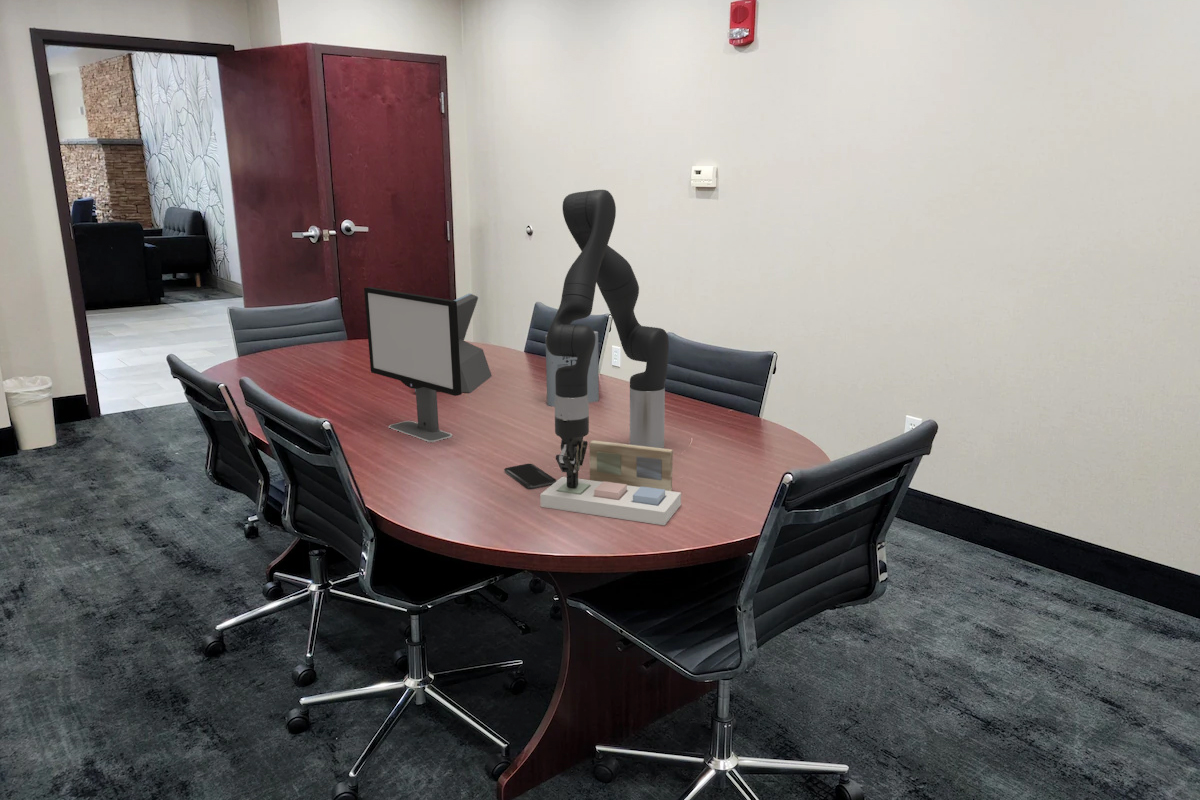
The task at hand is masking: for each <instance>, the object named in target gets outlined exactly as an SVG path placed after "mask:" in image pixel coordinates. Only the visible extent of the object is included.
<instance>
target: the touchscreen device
mask: <svg viewBox="0 0 1200 800" xmlns="http://www.w3.org/2000/svg"><path fill="white" fill-rule="evenodd" d="M478 299H479V297H478V296H477V295H475V294H473V293H468V294H465V295H464V296H461V297H458V298H456V299H454V301H456V302H457V318H458V337H459V356H460V375H461V393H467V394H469V393H470V394H471V393H473V392H474V391H475V390H476V389H478V388H479V387H480V386H481V385H482V384H484V383H485V382H486V381H488V380H489V379H490V378H492V376H493V375H492V372H491V369H490V366H489V364H488V361H487V358H486V354H485V352H484V349H483V348H481V347H479V346H476V345H474V344H472V343H470V342H467V341H465V339H466V335H467V332H468V328H469V326H470V323H471V320H472V317H473V315H474V312H475V310H476V306H477V303H478ZM414 391H415V393H416V389H414Z"/></svg>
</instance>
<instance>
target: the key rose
mask: <svg viewBox="0 0 1200 800" xmlns="http://www.w3.org/2000/svg"><path fill="white" fill-rule="evenodd" d="M626 492H627V484H620V483H613V482H605V481H603V482H602V483H601V484H600V485H599V486H598V487H597V488H596V489H595V490H594V497H600V498H607V499H614V500H620V499H621V498H622V497H623V496H624V495H625V494H626Z"/></svg>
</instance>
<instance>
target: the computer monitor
mask: <svg viewBox="0 0 1200 800" xmlns="http://www.w3.org/2000/svg"><path fill="white" fill-rule="evenodd" d="M363 292H364V293H363V294H364V303H365V304H364V305H365V306H364V307H365V317H366V328H367V330H366V331H367V339H368V352H369V353H368V354H369V355H368V356H369V363H370V364H369V365H370V373H372V374H375V375H378V376H383V377H386V378H390V379H393V380H395V381H399V382H401V383H402V384H403V385H405V386H406V387H407V388H410V389H413V390H415V389H416V392H415V397H416V398H415V399H416V401H415V402H416V412H417V413H416V414H417V422H416V421H413V420H406V421H400V422H397V423H393V424H389V426H388V429H389V428H391V429H394V430H397V431H399V432H402V433H405V434H408V435H411V436H414V437H417V438H419V439H418V440H420V439H422V440H424V441H423V442H425V441H427V442H426V443H430V442H432V443H436V442H435V441H438V442H440V441H439V440H441V441H444V440H443V439H445V440H447V438H448V439H451V438H453V433H451V432H447V431H444V430H441V429H440V427H439V414H438V413H439V411H438V409H439V408H438V398H437V397H438V394H437V392H439V393H443V394H447V395H451V396H454V397H456V396H460V395H462V392H461V375H460V356H459V337H458V318H457V302H456V301H454V300H455V299H454V300H453V299H446V298H440V297H434V296H428V295H422V294H416V293H410V292H404V291H399V290H398V291H396V290H391V289H390V290H389V289H385V288H384V289H383V288H377V287H372V286H368V287H364V288H363ZM391 429H390V430H391ZM394 430H393V431H394ZM397 431H396V432H397ZM399 432H398V433H399ZM402 433H401V434H402ZM405 434H404V435H405ZM408 435H407V436H408ZM411 436H410V437H411ZM414 437H413V438H414ZM417 438H416V439H417ZM422 440H421V441H422Z"/></svg>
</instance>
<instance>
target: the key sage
mask: <svg viewBox="0 0 1200 800" xmlns="http://www.w3.org/2000/svg"><path fill="white" fill-rule="evenodd" d="M589 487H590V484H584V483H578V486H577V487H576V488H575V489H574V488H568V487H567V482H566V483H565V484H563V485H562V486H561V487H560V488H559V489H557V491H558V492H565V493H572V494H579V495H581V494H582V493H583V492H585V491H586V490H587V489H588V488H589Z"/></svg>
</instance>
